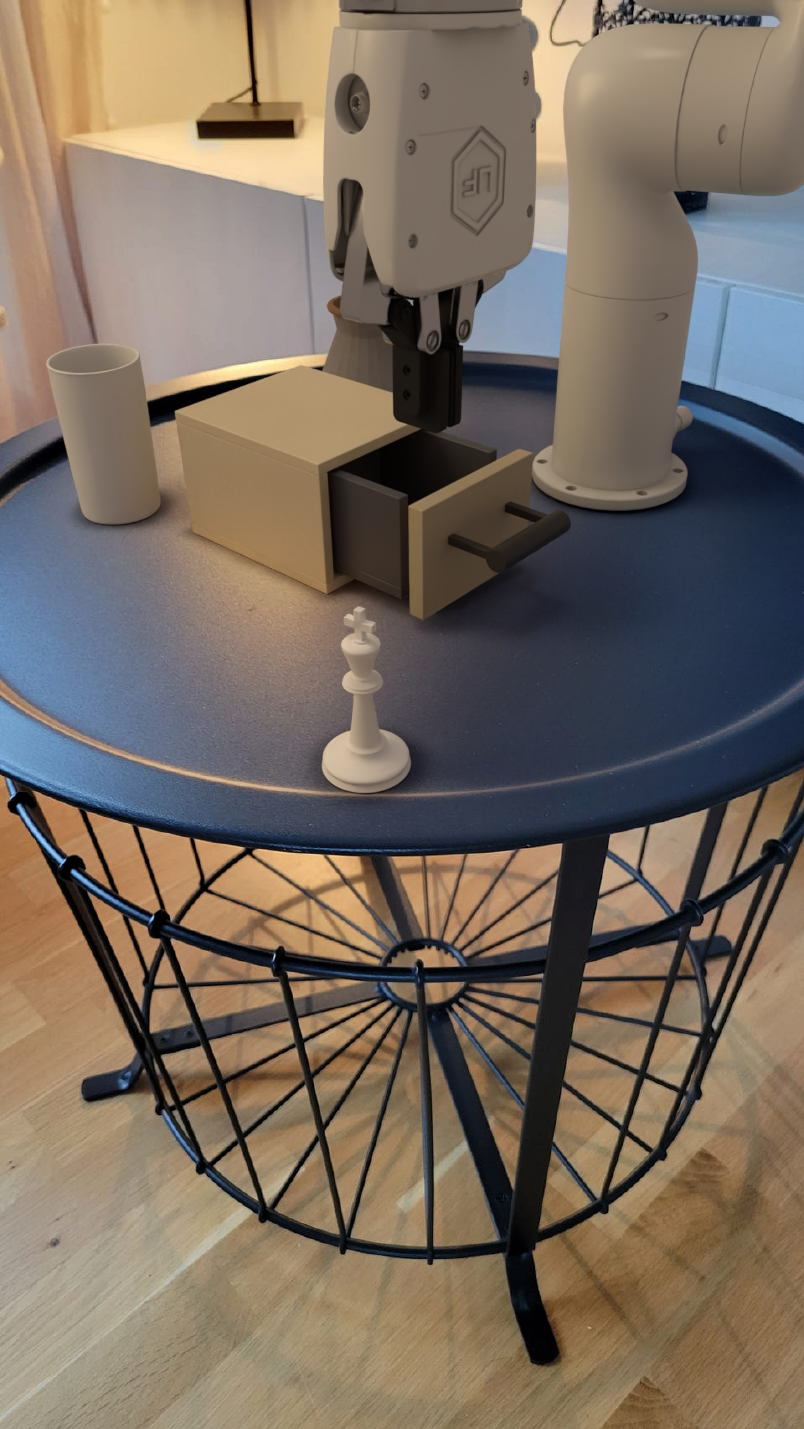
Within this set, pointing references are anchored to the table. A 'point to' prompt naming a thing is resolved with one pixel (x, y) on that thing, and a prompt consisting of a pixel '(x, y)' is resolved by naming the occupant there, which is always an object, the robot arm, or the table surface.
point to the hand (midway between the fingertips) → (426, 422)
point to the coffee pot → (359, 352)
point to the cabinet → (280, 465)
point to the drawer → (435, 517)
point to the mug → (106, 431)
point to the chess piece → (364, 721)
